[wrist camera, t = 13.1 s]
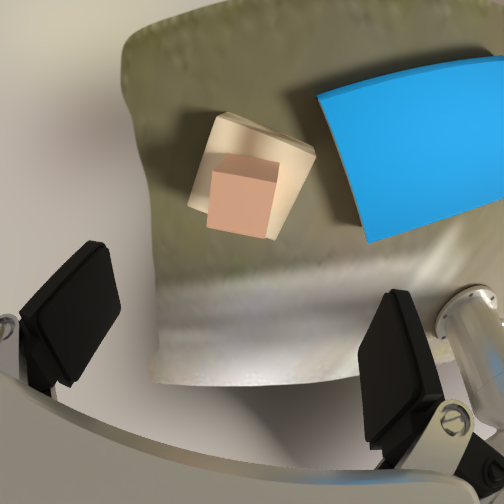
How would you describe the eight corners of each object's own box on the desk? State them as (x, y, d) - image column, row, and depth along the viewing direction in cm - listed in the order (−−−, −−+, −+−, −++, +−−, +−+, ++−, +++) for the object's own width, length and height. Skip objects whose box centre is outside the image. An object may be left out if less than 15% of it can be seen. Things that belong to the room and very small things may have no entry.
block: (279, 162, 27) (276, 183, 22) (270, 209, 30) (265, 239, 25) (228, 153, 27) (212, 171, 22) (221, 200, 30) (206, 227, 25)
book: (531, 187, 24) (369, 247, 32) (514, 176, 27) (361, 229, 35) (510, 53, 16) (316, 96, 24) (490, 53, 20) (312, 95, 28)
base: (313, 146, 31) (316, 156, 26) (277, 220, 36) (274, 240, 32) (227, 111, 30) (216, 116, 26) (200, 189, 35) (187, 205, 31)
